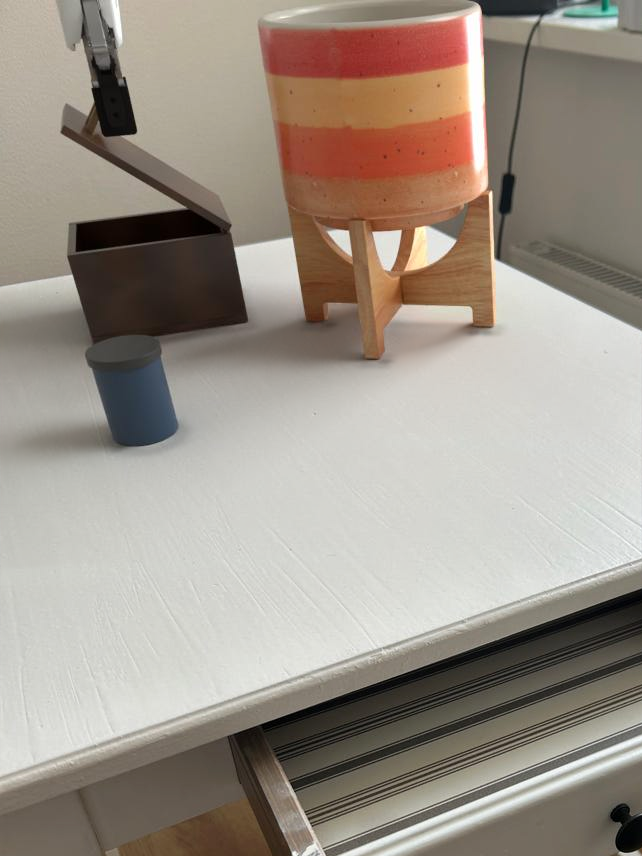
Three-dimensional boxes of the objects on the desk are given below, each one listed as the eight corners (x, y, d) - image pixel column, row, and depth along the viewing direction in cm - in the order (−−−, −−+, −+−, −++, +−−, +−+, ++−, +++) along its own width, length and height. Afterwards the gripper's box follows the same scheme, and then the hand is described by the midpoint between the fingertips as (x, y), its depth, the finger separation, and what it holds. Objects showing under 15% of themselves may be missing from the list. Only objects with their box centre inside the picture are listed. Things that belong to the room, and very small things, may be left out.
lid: (60, 133, 87) (86, 70, 85) (62, 110, 97) (86, 53, 95) (228, 232, 96) (256, 178, 94) (215, 202, 106) (240, 152, 104)
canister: (102, 449, 80) (75, 364, 75) (119, 418, 84) (95, 336, 80) (173, 444, 80) (151, 359, 75) (186, 414, 84) (166, 332, 80)
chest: (93, 345, 98) (66, 255, 93) (93, 306, 108) (68, 222, 103) (248, 321, 102) (231, 233, 96) (234, 285, 111) (218, 203, 106)
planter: (337, 287, 109) (299, 1, 93) (513, 290, 105) (505, -7, 89) (272, 355, 94) (212, 28, 77) (475, 363, 90) (457, 20, 74)
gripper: (22, -106, 88) (79, 118, 99) (12, -108, 75) (78, 150, 86) (108, -109, 90) (154, 112, 101) (113, -112, 77) (165, 142, 88)
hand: (119, 127), depth 94 cm, fingers closed on lid, 5 cm apart
